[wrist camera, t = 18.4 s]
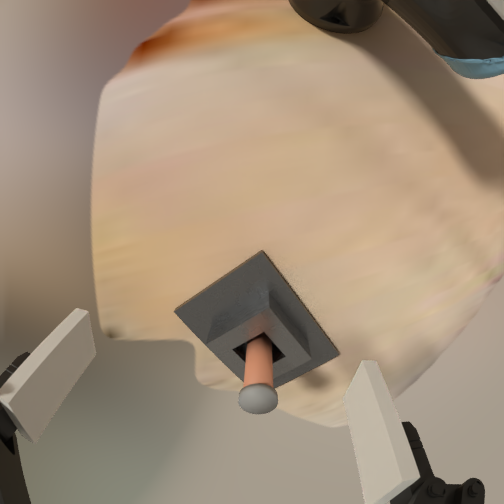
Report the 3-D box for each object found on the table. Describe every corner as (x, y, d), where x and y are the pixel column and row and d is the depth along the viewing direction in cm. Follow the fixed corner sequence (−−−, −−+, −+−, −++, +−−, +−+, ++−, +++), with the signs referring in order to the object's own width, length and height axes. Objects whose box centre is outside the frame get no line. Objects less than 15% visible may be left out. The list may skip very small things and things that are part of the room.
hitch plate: (175, 308, 47) (166, 326, 42) (262, 249, 43) (261, 263, 38) (258, 391, 53) (257, 411, 48) (337, 350, 49) (344, 370, 44)
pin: (238, 333, 47) (230, 399, 33) (263, 319, 46) (263, 384, 32) (256, 352, 48) (253, 418, 34) (280, 339, 47) (285, 405, 33)
